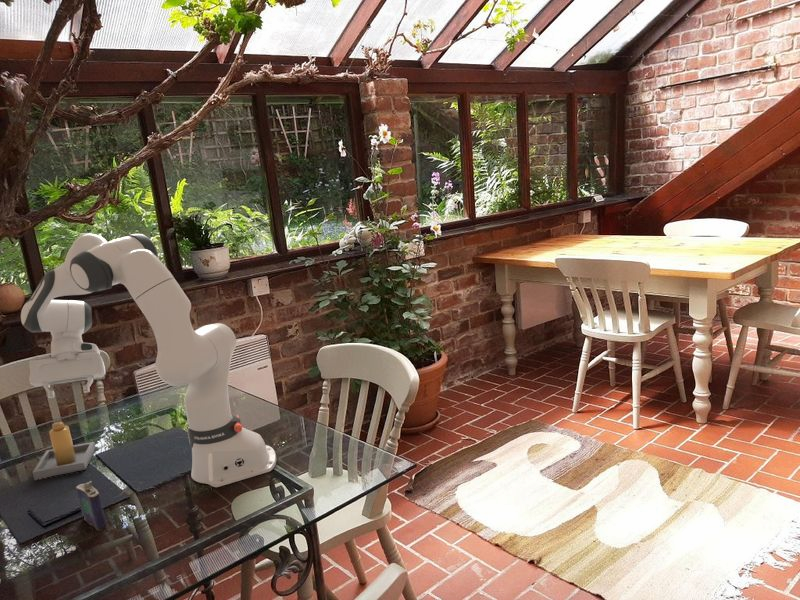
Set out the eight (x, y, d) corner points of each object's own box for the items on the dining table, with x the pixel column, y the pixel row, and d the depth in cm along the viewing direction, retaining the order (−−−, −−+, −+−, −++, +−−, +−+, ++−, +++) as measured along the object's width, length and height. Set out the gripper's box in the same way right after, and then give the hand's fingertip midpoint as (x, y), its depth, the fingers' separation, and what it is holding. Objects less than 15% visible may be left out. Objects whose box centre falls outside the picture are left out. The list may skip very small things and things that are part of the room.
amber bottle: (77, 455, 176) (69, 418, 174) (74, 463, 172) (65, 425, 169) (59, 459, 175) (49, 421, 172) (54, 467, 170) (45, 428, 168)
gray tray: (95, 449, 181) (94, 441, 181) (85, 470, 169) (83, 462, 168) (48, 457, 178) (46, 450, 178) (34, 480, 166) (32, 472, 165)
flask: (81, 519, 146) (72, 479, 143) (93, 513, 148) (84, 474, 146) (99, 532, 140) (89, 491, 138) (111, 525, 142) (102, 485, 140)
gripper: (26, 353, 180) (26, 397, 174) (101, 343, 187) (104, 385, 181) (32, 362, 186) (32, 404, 180) (105, 352, 192) (107, 392, 186)
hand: (68, 394), depth 180 cm, fingers open, 8 cm apart
